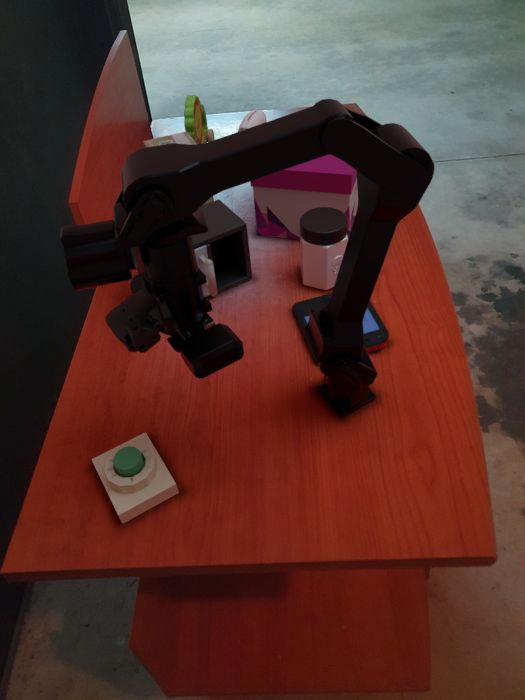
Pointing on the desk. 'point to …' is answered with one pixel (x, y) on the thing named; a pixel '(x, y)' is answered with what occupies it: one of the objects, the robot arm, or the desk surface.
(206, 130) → the toy lion
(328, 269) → the jar
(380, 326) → the game console
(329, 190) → the decorative box
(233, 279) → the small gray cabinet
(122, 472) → the button
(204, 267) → the gray cabinet door
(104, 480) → the button block
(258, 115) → the photo printer
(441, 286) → the desk surface
